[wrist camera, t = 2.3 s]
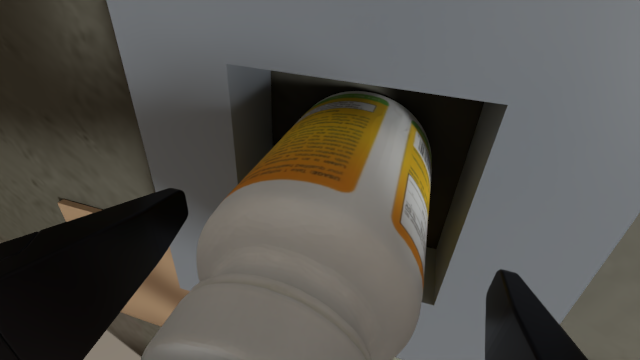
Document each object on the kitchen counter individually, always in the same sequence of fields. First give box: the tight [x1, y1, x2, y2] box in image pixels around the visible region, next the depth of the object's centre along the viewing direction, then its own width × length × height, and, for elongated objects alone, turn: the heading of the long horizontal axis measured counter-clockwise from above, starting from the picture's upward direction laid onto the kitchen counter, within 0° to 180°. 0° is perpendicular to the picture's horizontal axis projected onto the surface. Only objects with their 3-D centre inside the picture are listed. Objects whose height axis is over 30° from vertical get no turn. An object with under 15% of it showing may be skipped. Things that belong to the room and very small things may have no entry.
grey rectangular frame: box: [106, 0, 640, 360], centre depth 12 cm, size 15×15×3 cm
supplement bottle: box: [141, 91, 432, 360], centre depth 10 cm, size 5×5×10 cm
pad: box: [58, 199, 190, 327], centre depth 23 cm, size 10×10×1 cm
